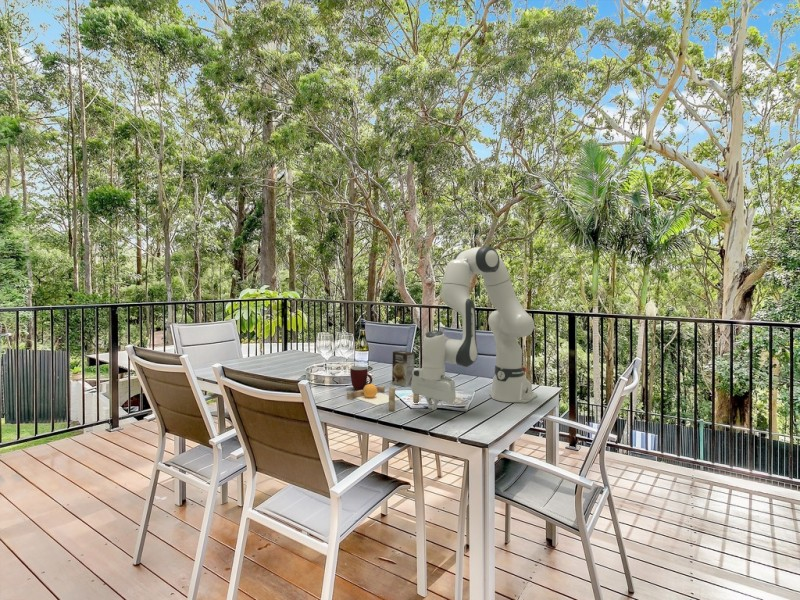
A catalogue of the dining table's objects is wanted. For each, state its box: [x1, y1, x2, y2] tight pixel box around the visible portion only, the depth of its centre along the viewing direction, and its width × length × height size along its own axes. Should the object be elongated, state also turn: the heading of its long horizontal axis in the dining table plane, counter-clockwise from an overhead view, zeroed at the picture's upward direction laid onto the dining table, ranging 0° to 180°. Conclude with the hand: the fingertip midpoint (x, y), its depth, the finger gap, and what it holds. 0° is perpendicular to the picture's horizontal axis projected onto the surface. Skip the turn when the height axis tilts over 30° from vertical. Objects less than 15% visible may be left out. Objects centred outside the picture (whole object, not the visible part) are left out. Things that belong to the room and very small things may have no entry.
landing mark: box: [355, 392, 401, 406], centre depth 199 cm, size 14×14×1 cm
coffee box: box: [391, 350, 415, 388], centre depth 225 cm, size 9×6×16 cm
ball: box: [363, 383, 377, 398], centre depth 200 cm, size 6×6×6 cm
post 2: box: [412, 392, 420, 403], centre depth 192 cm, size 2×2×9 cm
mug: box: [349, 366, 373, 391], centre depth 214 cm, size 10×8×10 cm
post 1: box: [388, 386, 396, 412], centre depth 182 cm, size 2×2×9 cm
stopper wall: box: [346, 385, 386, 400], centre depth 204 cm, size 20×2×2 cm, turn 134°
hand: (432, 409), depth 178 cm, fingers closed
